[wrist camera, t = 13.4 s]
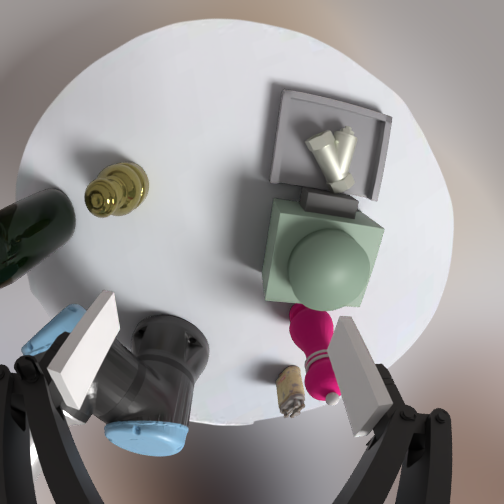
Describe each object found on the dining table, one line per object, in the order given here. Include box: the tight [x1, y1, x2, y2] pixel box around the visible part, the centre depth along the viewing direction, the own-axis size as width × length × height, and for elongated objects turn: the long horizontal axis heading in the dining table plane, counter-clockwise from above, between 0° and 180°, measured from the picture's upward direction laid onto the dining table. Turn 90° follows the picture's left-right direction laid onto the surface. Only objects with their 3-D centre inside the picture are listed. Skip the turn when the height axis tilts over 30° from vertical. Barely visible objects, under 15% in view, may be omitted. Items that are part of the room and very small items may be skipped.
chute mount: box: [269, 89, 392, 201], centre depth 35 cm, size 13×16×2 cm
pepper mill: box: [289, 303, 341, 405], centre depth 38 cm, size 7×7×20 cm
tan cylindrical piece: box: [276, 366, 305, 418], centre depth 49 cm, size 7×4×10 cm, turn 156°
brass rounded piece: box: [84, 162, 149, 218], centre depth 33 cm, size 7×7×10 cm
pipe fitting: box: [305, 126, 358, 194], centre depth 34 cm, size 8×4×7 cm
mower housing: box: [262, 187, 384, 311], centre depth 36 cm, size 14×14×11 cm
